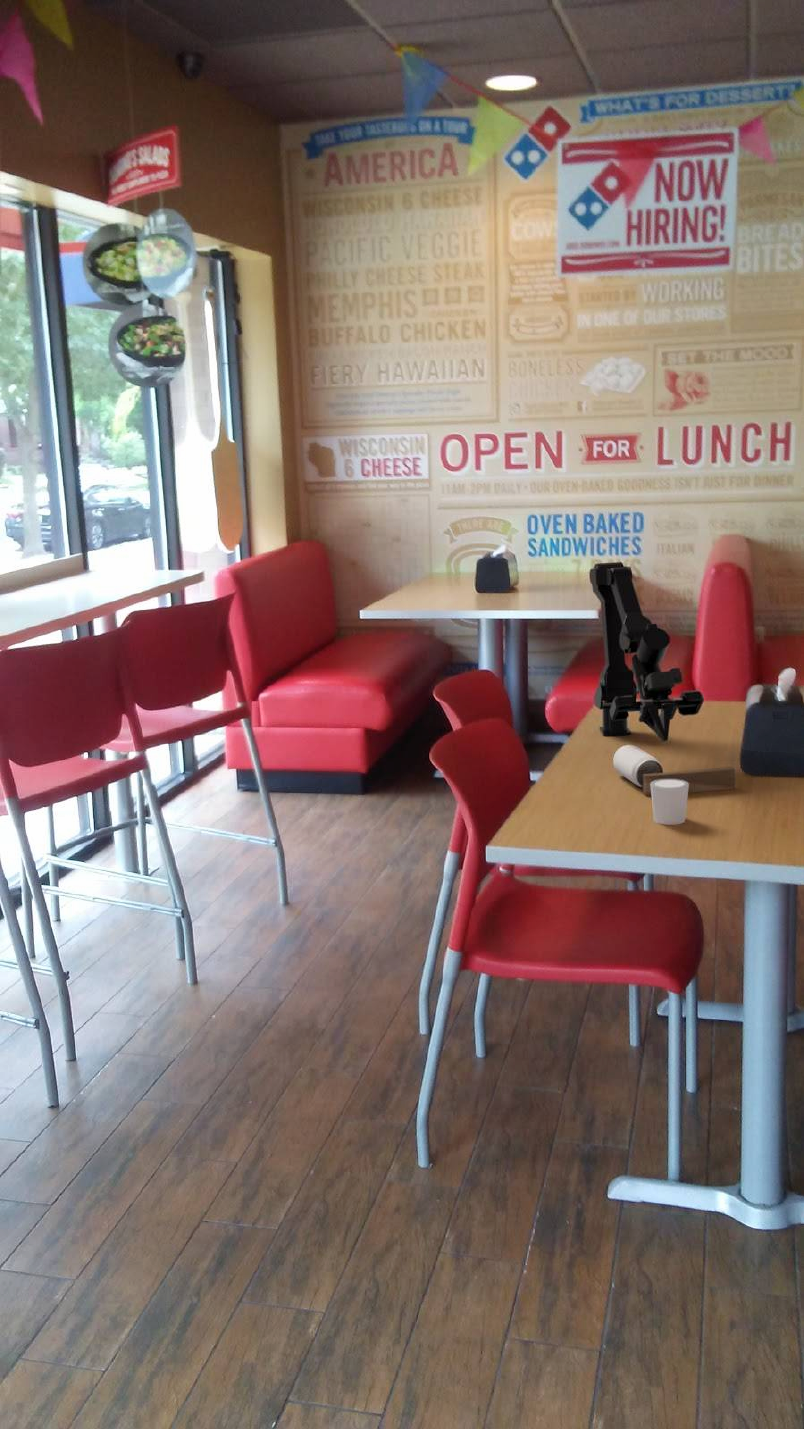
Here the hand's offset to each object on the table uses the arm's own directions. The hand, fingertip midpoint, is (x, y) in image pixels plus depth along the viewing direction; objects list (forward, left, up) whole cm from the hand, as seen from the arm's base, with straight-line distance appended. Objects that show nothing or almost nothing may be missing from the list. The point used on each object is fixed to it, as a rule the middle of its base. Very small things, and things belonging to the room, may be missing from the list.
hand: (665, 740), depth 264 cm
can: (-1, -8, -4) cm, 9 cm away
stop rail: (+13, +2, -7) cm, 15 cm away
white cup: (+30, -5, -7) cm, 32 cm away
